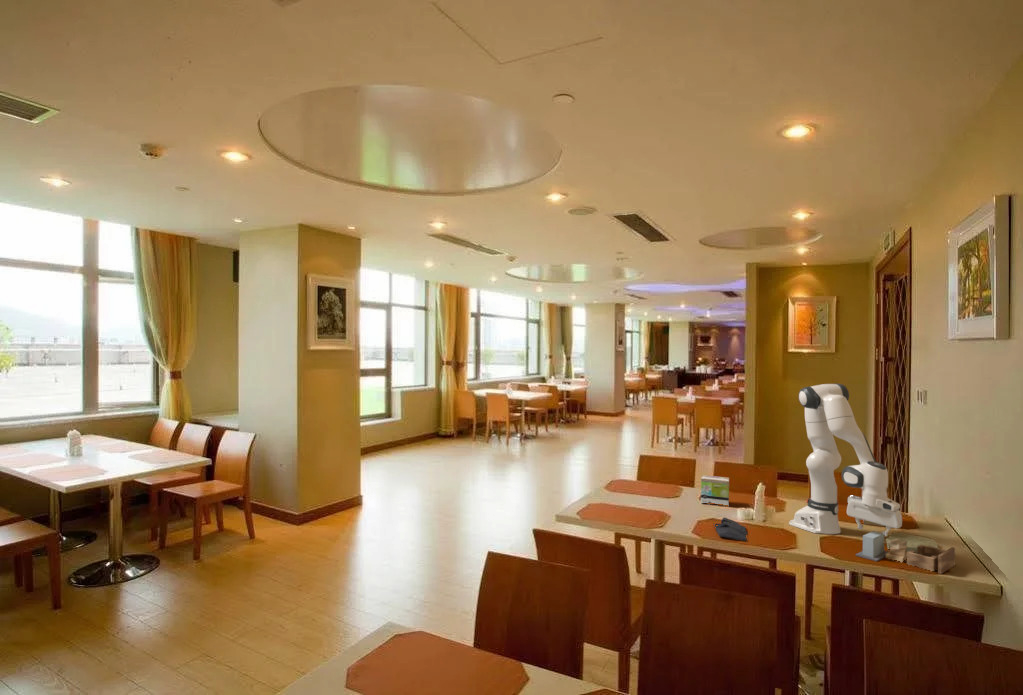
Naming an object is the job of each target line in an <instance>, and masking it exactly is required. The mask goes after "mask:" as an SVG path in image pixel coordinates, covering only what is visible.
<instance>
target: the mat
mask: <svg viewBox="0 0 1023 695" xmlns="http://www.w3.org/2000/svg"><path fill="white" fill-rule="evenodd" d="M888 552H889V550H888V551H887V550H884V552H883V553H881V554H879V555H877V556H875V557H870V556H866V555H863V550H861V551H860V552H858V553H855V556H856V557H860V558H863V559H866V560H870V561H874V562H879V561H881V560H883V559H884V558H886V553H888Z"/></svg>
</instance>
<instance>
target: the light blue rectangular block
mask: <svg viewBox="0 0 1023 695" xmlns="http://www.w3.org/2000/svg"><path fill="white" fill-rule="evenodd" d="M882 534H883V533H882V532H880V531H876V530H873V531H870V532H868V533H866V534H863V535H862V551H863V555H866V556H870V557H875V556H877V555H879V554H881V553H883V552H884V551H885V536H883V535H882Z"/></svg>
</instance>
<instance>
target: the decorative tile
mask: <svg viewBox="0 0 1023 695" xmlns="http://www.w3.org/2000/svg"><path fill="white" fill-rule="evenodd" d="M893 539H900V540H903V541H907V552H908V551H910V550H913V551H915V553H916V554H917V547H918V546H919V545H921V544H922V545H926V546H930V547H934V548H938V549H939V546H938V543H937V542H936V540H935V539H933V538H928V537H924V536H919V535H913V534H905V533H900V532H891V534H890V535H888V537H887V538H886V539H885V542H886V546H887V550H888V549H890V547H888V541H889V540H893Z"/></svg>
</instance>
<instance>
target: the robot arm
mask: <svg viewBox="0 0 1023 695" xmlns="http://www.w3.org/2000/svg"><path fill="white" fill-rule="evenodd" d="M849 399H850V392H849V389H848V388H847V387H846V385H844V384H842V383H837V382H835V383H824V384H823V383H822V384H816V385H811V386H804V387H803V388H801V389H799V392H798V401H799V403H800V405H801V406H802V407H803V408H804V421H805V423H804V424H805V428H806V434H807V435H806V436H807V439H808V440H809V442H810V445H811V448H812V451H813V452H811V453H810V454H809V455H808V456H807V458H806V459H805V460H806V461H805V465H806V468H807V469H808V474H809V480H810V498H808V499H806V500H805V503H806V504H807V505H805V506H803V507H802V508H799V509H798V510H796V512H795V513H794V516H793V519H791V520H789V522H788V525H790V526H792V527H795V528H797V529H801V530H805V531H806V532H811V533H813V534H826V535H827V534H828V535H838V534H840V533H842V529H841V528H840V523H839V516H838V514H839V502H838V485H837V483H836V478H835V473H834V471H835V470H836V469H838V468H839V467H840V465H841V463H842V456H841V453H840V452H839V449H838V446H837V443H836V441H835V437H836V438H838V439H840V440H843V441H845V442H847V443H849V444H850V445H851V446H852V448H853V449H854V451H855V454H856V456H857V458H858V460H859V464H853V465H847V466H845V467H844V468H843V469H842V470H841V479H842V481H843V483H844V484H845V485H846V486H848V488H849V487H850V488H855V489H856V488H857V489H861V491H862V490H863V494H862V493H861V496H856V495H852V494H851V495H849V496H848V497H847V503H848V504H847V506H846V514H847V516H848V517H852V518H854V520H855V522H856V524H857V529H859V530H863V529H864V524H862V523H861V521H863V520H866V521H869V522H873V523H877V524H880V525H884V526H885V529H886V530H883V531H882V532H881V533H883V534H882V535H883V536H884V537H887V538H888V537H889V532H890V531H891V530H892V529H894V530H898V529H900V528H901V527H903V526H902V525H903V516H902V512H901V510H900V508H901V505H900V503H899V502H896V501H894V500H892V499H891V498H889V497H888V492H887V490H888V489H887V488H888V486H889V473H888V468H887V466H885V465H884V464H882V463H880V462H877V461H876V458H875V456H874V454H873V451H872V449H871V446H870V444H869V442H868V440H867V437H866V436H865V433H864V432H863V431H862V430H861V429H860V428H859V426H858V423H857V421H856V418H855V416H854V413H853V410H852V407H851V405H850V403H849V401H848V400H849ZM834 436H835V437H834Z"/></svg>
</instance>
